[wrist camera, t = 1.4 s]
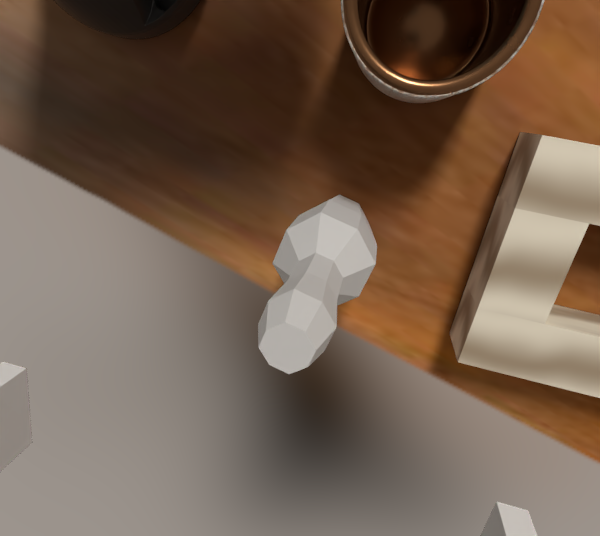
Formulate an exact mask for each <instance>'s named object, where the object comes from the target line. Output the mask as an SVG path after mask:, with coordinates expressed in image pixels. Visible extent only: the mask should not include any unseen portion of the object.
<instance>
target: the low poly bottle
mask: <svg viewBox="0 0 600 536" xmlns="http://www.w3.org/2000/svg"><path fill="white" fill-rule="evenodd" d="M376 253H377V244H376V241H375V238H374V236H373V233H372V230H371V228H370V225H369V222H368V220H367V218H366V216H365V214H364V212H363V210H362V209H361V207H360V205H359V203H357V202H355V201H353V200H350V199H348V198H346V197H344V196H342V195H338V196H336V197H334V198H332V199H329V200H328V201H326V202H324V203H322V204H320V205H318V206H316V207H314V208H312V209H310V210H308V211H306V212H304V213H302V214H300V215H299V216H298V217H297V218H296V219H295V220H294V222H293V223H292V224H291V225H290V226H289V227H288V229H287V230H286V232H285V235H284V237H283V239H282V242H281V244H280V247H279V249H278V251H277V254H276V256H275V259H274V261H273V265H274V267H275V268H276V270H277V272H278V273H279V275H280V277H281V279H282V280H283V282H284V285H283V286H282V287H281V288H280V289H279V290H278V291H277V292H276V293H275V294H274V295H273V296H272V297H271V298H270V300H269V301H268V303H267V305H266V308H265V310H264V312H263V314H262V317H261V319H260V321H259V324H258V344H259V345H258V347H259V349H260V351H261V352H262V354H263V355H264V357H265V359H266V360H267V362H268V364H269V365H271V366H273V367H275V368H277V369H279V370H281V371H283V372H285V373H287V374H291V373H294V372H296V371H299V370H301V369H304V368H306V367H308V366H309V365H310V364H311V363H312V362H313V361H315V359H317V358H318V357H319V356H320V355H321V354H322V353H323V352H324V351H325V349H326V347H327V345H328V343H329V341H330V339H331V337H332V335H333V333H334V331H335V330H336V328H337V305H340V304H342V303H344V302H347V301H349V300H352V299H354V298H356V297H359V295H360V293H361V291H362V289H363V287H364V285H365V283H366V281H367V280H368V278H369V276H370V274H371V272H372V270H373V268H374V266H375V264H376Z"/></svg>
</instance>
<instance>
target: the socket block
mask: <svg viewBox="0 0 600 536" xmlns="http://www.w3.org/2000/svg"><path fill="white" fill-rule="evenodd" d="M589 224H593V225H598V226H600V146H598V145H592V144H587V143H582V142H576V141H571V140H566V139H561V138H555V137H550V136H545V135H538V134H531V133H524V132H520V134H519V137H518V140H517V143H516V146H515V148H514V151H513V154H512V157H511V160H510V163H509V165H508V168H507V171H506V174H505V177H504V180H503V182H502V185H501V188H500V191H499V194H498V197H497V199H496V202H495V205H494V208H493V211H492V214H491V216H490V219H489V222H488V225H487V228H486V231H485V233H484V236H483V239H482V242H481V245H480V248H479V250H478V253H477V256H476V259H475V262H474V265H473V267H472V270H471V273H470V276H469V279H468V282H467V284H466V287H465V290H464V293H463V296H462V299H461V301H460V304H459V307H458V310H457V313H456V316H455V318H454V321H453V324H452V327H451V330H450V333H449V334H450V337H451V341H452V344H453V348H454V351H455V354H456V358H457V361H458V362H459V363H463V364H467V365H470V366H474V367H478V368H482V369H486V370H490V371H494V372H498V373H502V374H506V375H510V376H514V377H518V378H522V379H526V380H530V381H534V382H538V383H542V384H546V385H550V386H554V387H558V388H562V389H566V390H570V391H574V392H578V393H582V394H586V395H590V396H594V397H598V398H600V315H597V314H593V313H589V312H584V311H580V310H576V309H571V308H567V307H563V306H558V305H554V302H555V300H556V298H557V295H558V293H559V291H560V289H561V286H562V284H563V282H564V280H565V277H566V275H567V273H568V271H569V268H570V266H571V264H572V262H573V259H574V257H575V255H576V253H577V250H578V248H579V246H580V244H581V241H582V239H583V237H584V235H585V232H586V230H587V228H588V226H589Z"/></svg>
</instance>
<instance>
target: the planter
mask: <svg viewBox="0 0 600 536" xmlns="http://www.w3.org/2000/svg"><path fill="white" fill-rule="evenodd" d="M543 3H544V0H341V11H342V19H343V25H344V29H345V33H346V36H347V39H348V42H349V44H350V47H351V49H352V51H353V53H354V56H355V58H356V61H357V63H358V65H359V67H360V69H361V70H362V72H363V74H364V75H365V77H366V78H367V79H368V80H369V81H370V82H371V84H372V85H373V86H375V87H376V88H377V89H378V90H380V91H381V92H382V93H384V94H386V95H387V96H389V97H391V98H394V99H396V100H400V101H403V102H409V103H429V102H435V101H439V100H442V99H445V98H448V97H451V96H453V95H456V94H459V93H462V92H465V91H467V90H470V89H472V88H474V87H476V86H478V85H480V84H481V83H483V82H485V81H486V80H488V79H489V78H491V77H492V76H493V75H495V74H496V73H497V72H498V71H500V70H501V69H502V68H503V67H504V66H505V65H506V64H507V63H508V62H509V61H510V60H511V59H512V58H513V57H514V56H515V55H516V53H517V52H518V51H519V50H520V48H521V47H522V46H523V44H524V43H525V41H526V40H527V38H528V37H529V35H530V33H531V32H532V30H533V28H534V26H535V24H536V22H537V19H538V17H539V15H540V12H541V9H542V6H543Z"/></svg>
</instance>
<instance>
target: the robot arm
mask: <svg viewBox="0 0 600 536" xmlns="http://www.w3.org/2000/svg"><path fill="white" fill-rule="evenodd" d="M54 1H55V2H56V3H57V4H58V5H59V6H60V7H61V8H62V9H64V10H65V11H66V12H67V13H68V14H69V15H71V16H72V17H73V18H75V19H76V20H78V21H80V22H81V23H83V24H85V25H86V26H88V27H90V28H92V29H95V30H97V31H100V32H103V33H107V34H110V35H114V36H117V37H121V38H127V39H145V38H151V37H155V36H158V35H161V34H163V33H165V32H167V31H169V30H171V29H173V28H174V27H176V26H177V25H178V24H180V23H181V22H182V21H183V20H184V19H185V18H186V17H187V16H188V15H189V14H190V13H191V12H192V11H193V9H194V8H195V7H196V6H197V4H198V3H199V1H200V0H54ZM31 443H32V432H31V420H30V406H29V392H28V379H27V368H24V367H21V366H17V365H14V364H10V363H7V362H1V363H0V472H1V471H2V470H3V469H4V468H5V467H6V466H7V465H8V464H9V463H11V462H12V461H13V460H14V459H15V458H16V457H17V456H18V455H19V454H20V453H21V452H22V451H23V450H24V449H26V448H27V447H28V446H29V445H30V444H31ZM480 536H537V534H536V532H535V528H534V526H533V523H532V520H531V517H530V515H529V512H528V510H525V509H521V508H518V507H514V506H510V505H507V504H503V503H500V502H496V504H495V506H494V508H493V510H492V512H491V515H490V516H489V518H488V521H487V523H486V525H485V527H484V529H483V531H482V533H481V535H480Z"/></svg>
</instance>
